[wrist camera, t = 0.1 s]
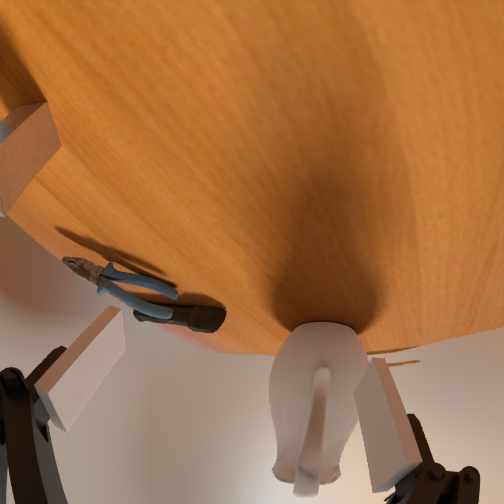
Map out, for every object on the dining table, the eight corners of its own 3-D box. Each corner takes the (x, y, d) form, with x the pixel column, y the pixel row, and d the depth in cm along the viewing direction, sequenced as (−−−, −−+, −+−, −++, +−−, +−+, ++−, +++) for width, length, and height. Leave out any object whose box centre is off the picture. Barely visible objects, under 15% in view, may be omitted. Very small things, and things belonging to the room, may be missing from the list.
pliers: (72, 246, 40) (57, 276, 37) (71, 239, 39) (54, 270, 35) (179, 292, 45) (168, 325, 42) (181, 287, 44) (170, 321, 40)
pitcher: (360, 349, 53) (345, 480, 37) (280, 343, 57) (256, 472, 41) (395, 295, 34) (381, 507, 18) (272, 286, 38) (231, 498, 22)
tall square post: (17, 107, 19) (-47, 171, 13) (47, 101, 18) (-25, 172, 13) (31, 146, 23) (-22, 211, 17) (62, 145, 23) (4, 218, 17)
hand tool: (147, 306, 55) (140, 327, 53) (136, 297, 52) (129, 318, 49) (232, 314, 49) (226, 339, 47) (224, 304, 46) (218, 330, 44)
